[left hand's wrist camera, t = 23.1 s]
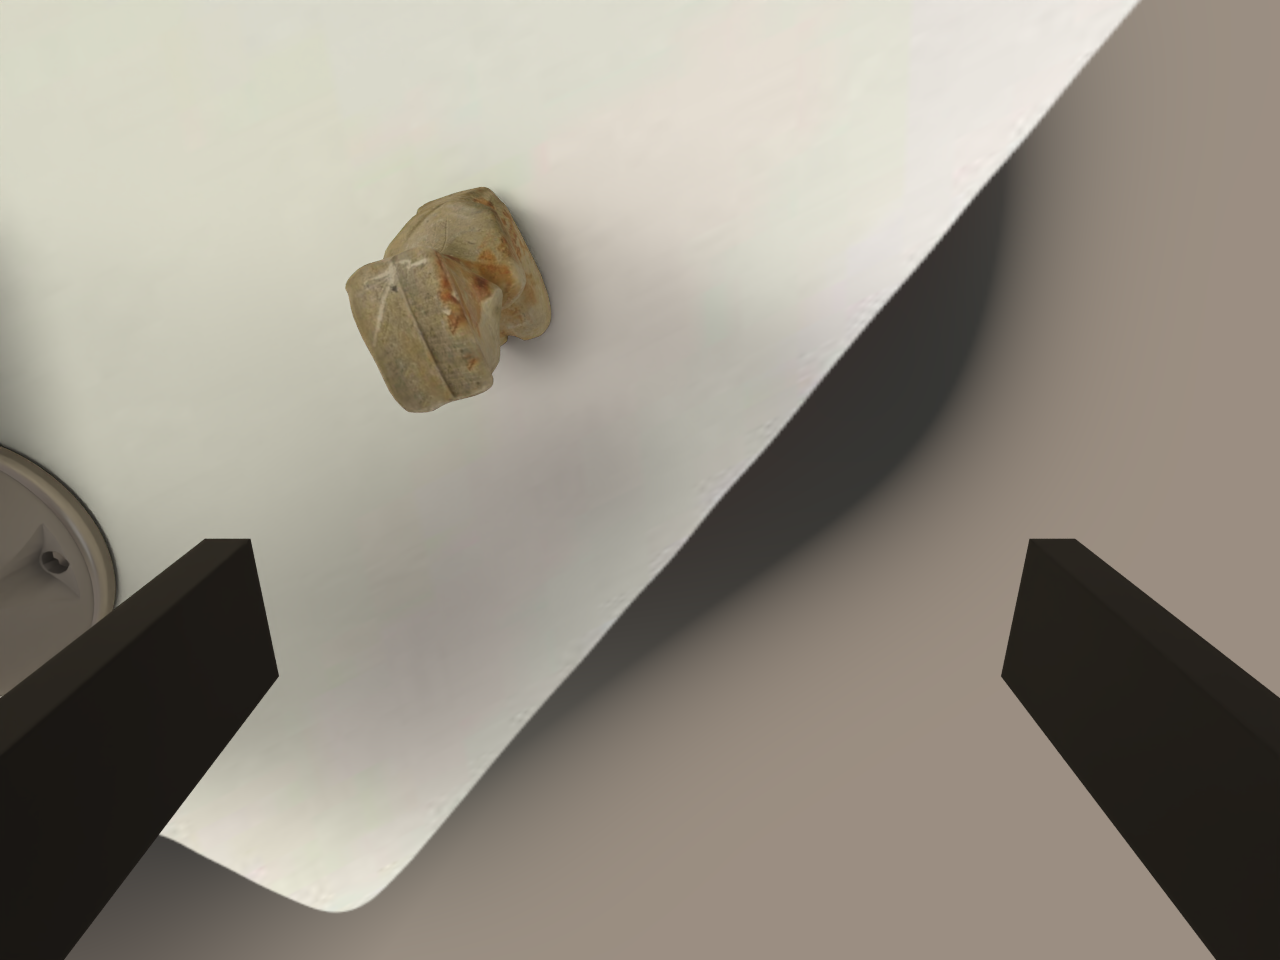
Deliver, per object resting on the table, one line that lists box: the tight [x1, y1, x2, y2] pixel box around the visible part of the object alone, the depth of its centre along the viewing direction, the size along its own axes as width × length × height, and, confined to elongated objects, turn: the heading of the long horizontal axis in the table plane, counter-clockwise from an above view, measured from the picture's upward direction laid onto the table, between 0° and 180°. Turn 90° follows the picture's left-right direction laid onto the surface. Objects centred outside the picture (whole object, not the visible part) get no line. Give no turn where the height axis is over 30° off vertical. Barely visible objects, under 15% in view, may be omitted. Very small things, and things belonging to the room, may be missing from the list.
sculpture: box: [345, 187, 551, 413], centre depth 30 cm, size 6×7×15 cm
